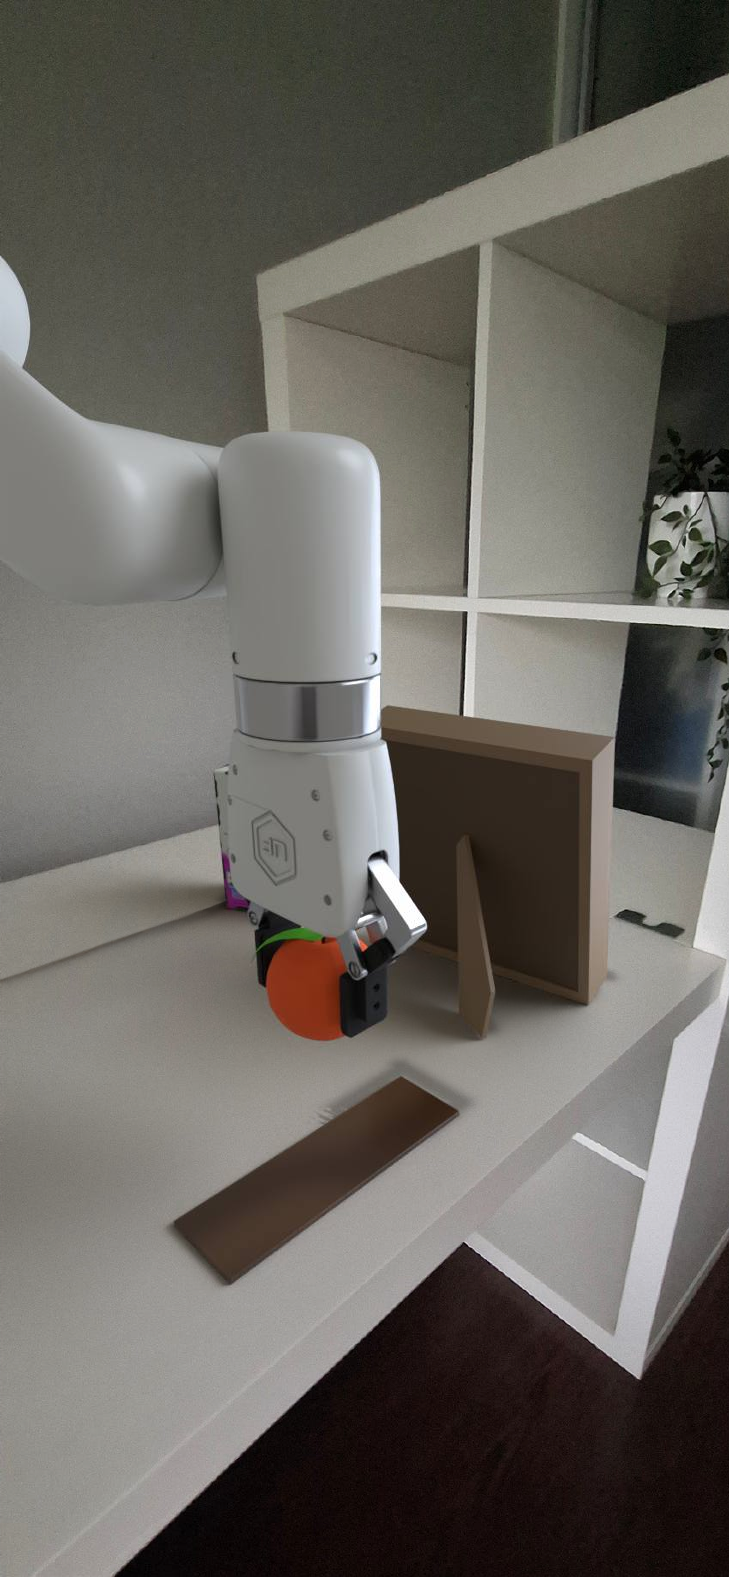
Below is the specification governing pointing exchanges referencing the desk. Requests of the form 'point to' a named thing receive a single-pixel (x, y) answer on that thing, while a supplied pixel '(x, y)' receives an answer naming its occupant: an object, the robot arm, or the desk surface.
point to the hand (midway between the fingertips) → (320, 999)
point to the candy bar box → (226, 839)
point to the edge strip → (311, 1177)
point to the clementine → (307, 983)
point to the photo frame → (505, 850)
